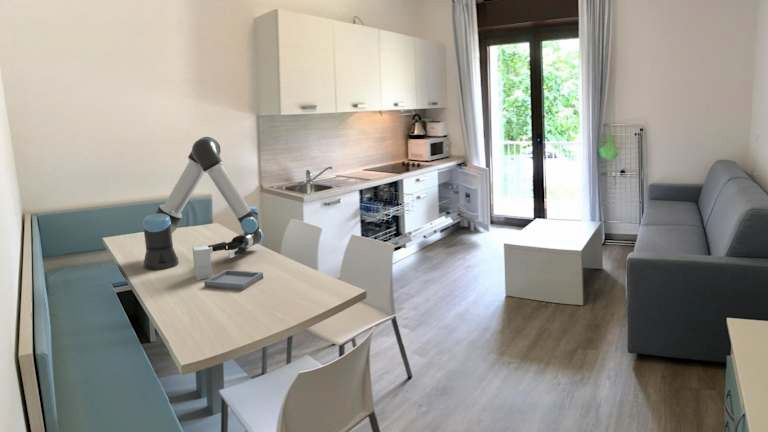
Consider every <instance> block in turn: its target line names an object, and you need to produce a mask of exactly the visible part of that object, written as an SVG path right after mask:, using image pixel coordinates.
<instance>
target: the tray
mask: <svg viewBox="0 0 768 432" xmlns="http://www.w3.org/2000/svg"><path fill="white" fill-rule="evenodd" d="M263 279H264V272H261V271H249V270H248V271H247V270H234V269H225V270H223V271H221V272H219V273H217V274H214V275H212V277H211V278H206V279H204V288H205V287H206V288H213V289H224V290H225V289H226V290H236V291H245V290H247V289H248V288H250V287H251V286H254V284H256V283H258V282H259V281H261V280H263Z"/></svg>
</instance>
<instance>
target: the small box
mask: <svg viewBox="0 0 768 432" xmlns="http://www.w3.org/2000/svg"><path fill="white" fill-rule="evenodd" d="M208 246H209V245H208V244H202V245H201V244H200V245H194V246H192V257H193V267H194V268H193V269H194V275H195V278H196V280H197V281H199V280H207V279H209V278H211V277H213V272H212V261H211V254H210V249H209V247H208Z"/></svg>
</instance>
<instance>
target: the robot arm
mask: <svg viewBox="0 0 768 432" xmlns="http://www.w3.org/2000/svg"><path fill="white" fill-rule="evenodd" d="M191 147H192V148H191V151H190V153H189V155H188V156H187V159H188V163H187V164H186V166H185V168H184V170H183V172H182V173H181V175H180V177H179V178H178V180H177V182H176V184H175V186H174V187H173V188H172V191H171V192H170V194H169V195H168V197H167V199H166V200H165V203H163V204H160V205H159V207H158V208H157V209H156V211H155V213H152V214H150V215H147V216H145V217H144V218H143V219H142V227H143V234H144V244H145V256H144V259H143V267H145V268H144V269H146V268H147V269H146V270H151V269H153V270H156V271H157V270H164V269H169V268H173V267H175V266H178V265H179V257H178V256H177V253H176V251H175V248H174V245H173V236H172V235H173V233H174V232H175V231H176V230H177V228H178V226H179V224H180V222H181V220H182V218H183V214H182V212H183V210H184V208H185V206H186V205H187V203H188V202H189V200H190V198H191V197H192V195H193V193H194V191H195V190H196V189H197V187H198V184H199V183H200V181H201V179H202V178H203V176H204V174H208V176H209V178H210V179H211V181H212V182H213V184H214V185H215V187H216V189H217V190H218V191H219V194H220V195H221V196H222V197H223V199H224V200H225V202H226V204H227V205H228V207H229V208H230V210H231V212H232V213H233V214H234V216H235V218H236V219H237V221H238V222H239V224H240V227H241V230H242V231H243V232H242V233H240V234H238V235H237V236H234V237H233V238H232V239H231V241H228V242H226V241H222V242H220V243H214V244H209V245H207V246H208V247H209V249H210V255H211V254H213V253H215V252H219V251H229V252H228V258H229V259H231V258H234V257H236V256H238V255H242V254H243V255H246V254H247V251H248V250H249V249H250V248H251V247H253V246H255V245H258V244H259V243H261V242H262V241H263V239H264V232H263V231H262V229H261V228H260V221H259V209H258V207H257V206H254V205H250V206H248V204H247V203H246V200H245V199H244V197H243V196H242V194H241V193H240V191H239V189H238V188H237V186H236V184H235V183H234V182H233V180H232V178H231V176H229V173H228V172H227V171H226V169H225V167H224V165H223V160H222V159H221V156H220V155H221V146H220V143H219V142H218V141H217V140H216V139H215V138H213V137H210V136H203V137H200V138H199V139H198V140H196V141H195V142H194V143H193V145H192V146H191ZM153 270H152V271H153Z"/></svg>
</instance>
